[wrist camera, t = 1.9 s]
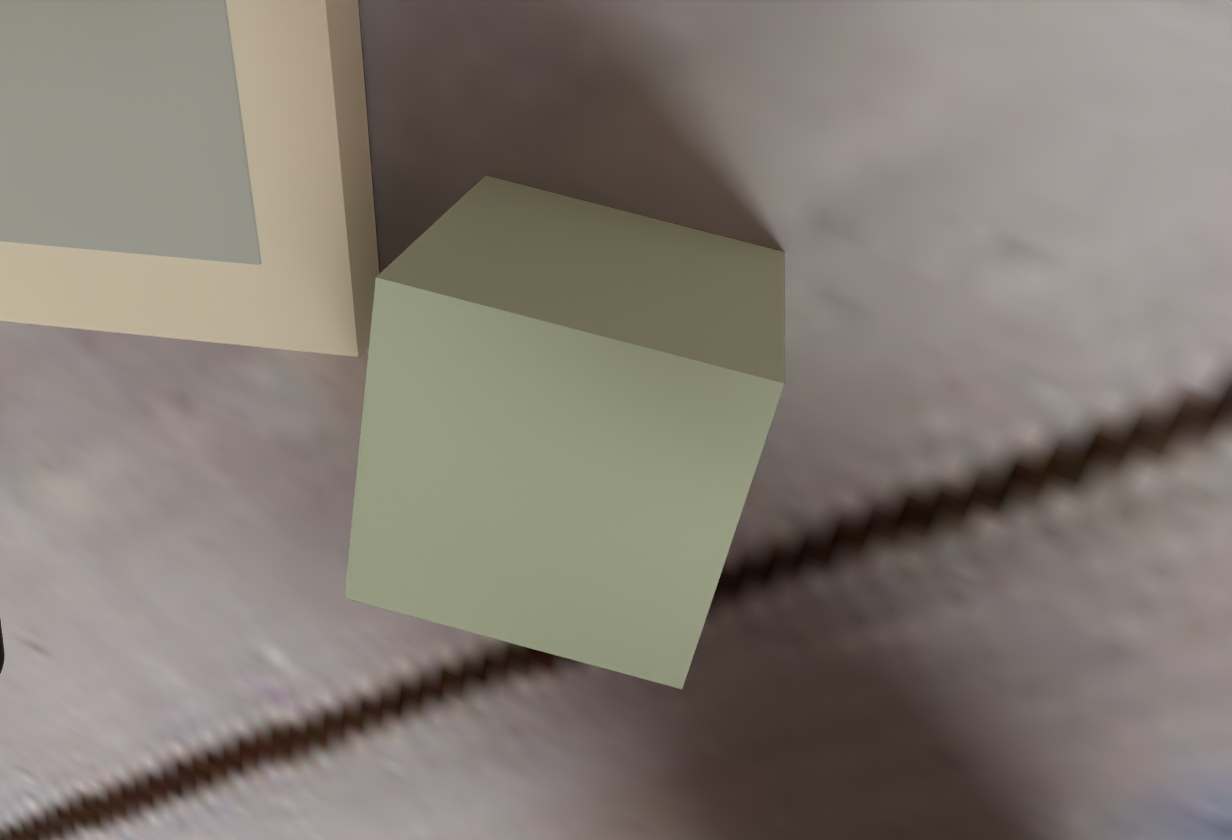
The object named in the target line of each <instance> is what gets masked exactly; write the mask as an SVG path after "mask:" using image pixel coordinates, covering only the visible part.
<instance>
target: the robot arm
mask: <svg viewBox="0 0 1232 840" xmlns="http://www.w3.org/2000/svg"><path fill="white" fill-rule="evenodd" d="M3 663H4V646H3V637H2V629H1V620H0V673H1V670H2V667H3Z"/></svg>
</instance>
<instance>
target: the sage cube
mask: <svg viewBox="0 0 1232 840" xmlns="http://www.w3.org/2000/svg"><path fill="white" fill-rule="evenodd" d="M784 384H785V252H782V251H779V250H775V249H771V248H767V247H763V246H759V245H755V244H751V243H747V242H743V241H740V240H736V239H732V238H728V237H724V236H720V235H716V234H712V233H708V232H704V231H700V230H697V229H693V228H689V227H685V226H681V225H677V224H673V223H669V222H665V221H661V220H658V219H654V218H650V217H646V216H642V215H638V214H634V213H630V212H626V211H622V210H618V209H615V208H611V207H607V206H603V205H599V204H595V203H591V202H587V201H583V200H579V199H576V198H572V197H568V196H564V195H560V194H556V193H552V192H548V191H544V190H540V189H536V188H533V187H529V186H525V185H521V184H517V183H513V182H509V181H505V180H501V179H497V178H494V177H490V176H486V175H485V176H484V177H483V178H482V179H481V180H480V181H479V182H478V183H477V184H476V185H475V186H474V187H472V188H471V189H470V190H469V191H468V192H467V193H466V194H465V195H464V196H463V197H462V198H461V199H460V200H458V201H457V202H456V203H455V204H454V205H453V206H452V207H451V208H450V209H449V210H448V211H447V212H446V213H444V214H443V215H442V216H441V217H440V218H439V219H438V220H437V221H436V222H435V223H434V224H433V225H432V226H431V227H429V228H428V229H427V230H426V231H425V232H424V233H423V234H422V235H421V236H420V237H419V238H418V239H417V240H415V241H414V242H413V243H412V244H411V245H410V246H409V247H408V248H407V249H406V250H405V251H404V252H403V253H401V254H400V255H399V256H398V257H397V258H396V259H395V260H394V261H393V262H392V263H391V264H390V265H389V266H388V267H386V268H385V269H384V270H383V271H382V272H381V273H380V274H379V275H378V276H377V277H376V281H375V291H374V301H373V311H372V321H371V332H370V342H369V352H368V362H367V372H366V383H365V393H364V403H363V413H362V423H361V434H360V444H359V454H358V464H357V475H356V485H355V495H354V505H353V515H352V526H351V536H350V546H349V556H348V566H347V577H346V587H345V597H344V598H346V599H350V600H354V601H357V602H361V603H365V604H368V605H372V606H376V607H379V608H383V609H387V610H391V611H394V612H398V613H402V614H405V615H409V616H413V617H416V618H420V619H424V620H427V621H431V622H435V623H439V624H442V625H446V626H450V627H453V628H457V629H461V630H464V631H468V632H472V633H476V634H479V635H483V636H487V637H490V638H494V639H498V640H501V641H505V642H509V643H512V644H516V645H520V646H524V647H527V648H531V649H535V650H538V651H542V652H546V653H549V654H553V655H557V656H561V657H564V658H568V659H572V660H575V661H579V662H583V663H586V664H590V665H594V666H597V667H601V668H605V669H609V670H612V671H616V672H620V673H623V674H627V675H631V676H634V677H638V678H642V679H646V680H649V681H653V682H657V683H660V684H664V685H668V686H671V687H675V688H679V689H683V686H684V683H685V680H686V677H687V674H688V671H689V668H690V665H691V662H692V659H693V656H694V653H695V650H696V647H697V644H698V641H699V638H700V635H701V632H702V629H703V626H704V623H705V620H706V617H707V614H708V611H709V608H710V605H711V602H712V599H713V596H714V593H715V590H716V587H717V584H718V581H719V578H720V575H721V572H722V569H723V566H724V563H725V560H726V557H727V554H728V551H729V548H730V545H731V542H732V539H733V536H734V533H735V530H736V527H737V524H738V521H739V518H740V515H741V512H742V509H743V506H744V503H745V500H746V497H747V494H748V491H749V488H750V485H751V482H752V479H753V476H754V473H755V470H756V467H757V464H758V461H759V459H760V456H761V453H762V450H763V447H764V444H765V441H766V438H767V435H768V432H769V429H770V426H771V423H772V420H773V417H774V414H775V411H776V408H777V405H778V402H779V399H780V396H781V393H782V390H783V387H784Z"/></svg>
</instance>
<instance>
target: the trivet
mask: <svg viewBox="0 0 1232 840" xmlns="http://www.w3.org/2000/svg"><path fill="white" fill-rule="evenodd" d="M378 275H379V263H378V250H377V237H376V224H375V212H374V199H373V186H372V173H371V160H370V147H369V134H368V121H367V108H366V96H365V83H364V70H363V57H362V44H361V31H360V18H359V5H358V0H0V321H7V322H17V323H27V324H37V325H47V326H57V327H67V328H77V329H87V330H96V331H106V332H116V333H126V334H136V335H146V336H156V337H166V338H176V339H185V340H195V341H205V342H215V343H225V344H235V345H245V346H255V347H265V348H274V349H284V350H294V351H304V352H314V353H324V354H334V355H344V356H354V357H359V356H360V355H361V353H362V352H363V351H364V350H365V349H366V348H367V347H368V346H369V342H370V332H371V321H372V311H373V301H374V291H375V281H376V277H377V276H378Z"/></svg>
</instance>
